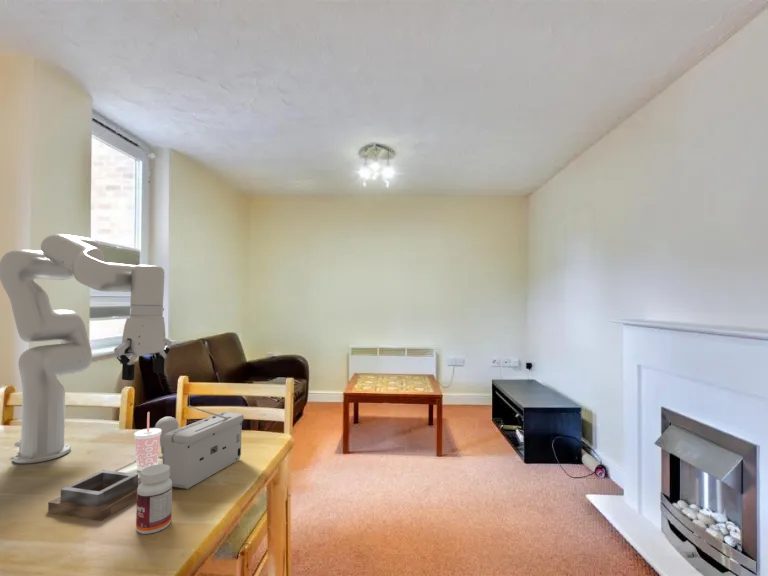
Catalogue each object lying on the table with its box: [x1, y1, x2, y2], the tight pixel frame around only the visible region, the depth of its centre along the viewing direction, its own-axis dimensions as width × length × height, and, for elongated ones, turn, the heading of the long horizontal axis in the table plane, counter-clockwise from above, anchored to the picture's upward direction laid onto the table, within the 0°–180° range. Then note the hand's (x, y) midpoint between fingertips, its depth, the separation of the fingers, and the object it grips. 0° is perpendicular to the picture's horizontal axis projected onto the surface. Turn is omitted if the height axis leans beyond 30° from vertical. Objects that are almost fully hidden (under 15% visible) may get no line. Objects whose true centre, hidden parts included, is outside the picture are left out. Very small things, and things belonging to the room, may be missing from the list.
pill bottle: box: [135, 464, 173, 535], centre depth 80 cm, size 6×6×11 cm
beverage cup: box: [133, 411, 162, 471], centre depth 102 cm, size 6×6×14 cm
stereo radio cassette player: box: [162, 405, 245, 490], centre depth 105 cm, size 21×8×20 cm, turn 160°
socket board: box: [47, 456, 163, 521], centre depth 96 cm, size 14×26×4 cm, turn 167°
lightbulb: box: [154, 416, 180, 455], centre depth 116 cm, size 6×6×11 cm
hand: (143, 376), depth 105 cm, fingers open, 9 cm apart
